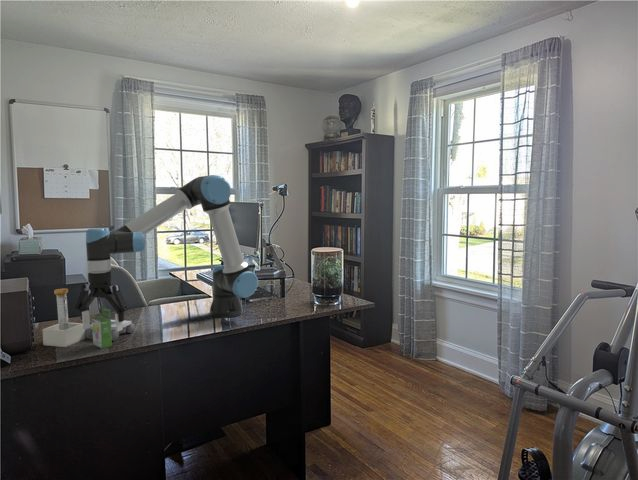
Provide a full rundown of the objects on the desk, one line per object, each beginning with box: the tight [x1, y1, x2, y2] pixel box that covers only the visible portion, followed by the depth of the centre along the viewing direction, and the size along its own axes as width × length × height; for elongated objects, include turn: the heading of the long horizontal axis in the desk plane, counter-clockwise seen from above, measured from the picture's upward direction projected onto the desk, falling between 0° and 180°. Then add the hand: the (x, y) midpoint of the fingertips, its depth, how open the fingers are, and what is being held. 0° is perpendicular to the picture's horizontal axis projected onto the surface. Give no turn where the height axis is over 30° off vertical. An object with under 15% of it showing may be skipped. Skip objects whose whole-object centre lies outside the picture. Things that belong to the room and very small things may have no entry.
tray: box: [42, 322, 87, 348], centre depth 163 cm, size 10×10×6 cm
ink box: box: [91, 306, 113, 349], centre depth 158 cm, size 7×4×13 cm, turn 50°
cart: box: [85, 319, 136, 342], centre depth 171 cm, size 12×14×5 cm
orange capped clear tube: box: [53, 287, 70, 330], centre depth 162 cm, size 4×4×19 cm
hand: (102, 329), depth 159 cm, fingers open, 13 cm apart
